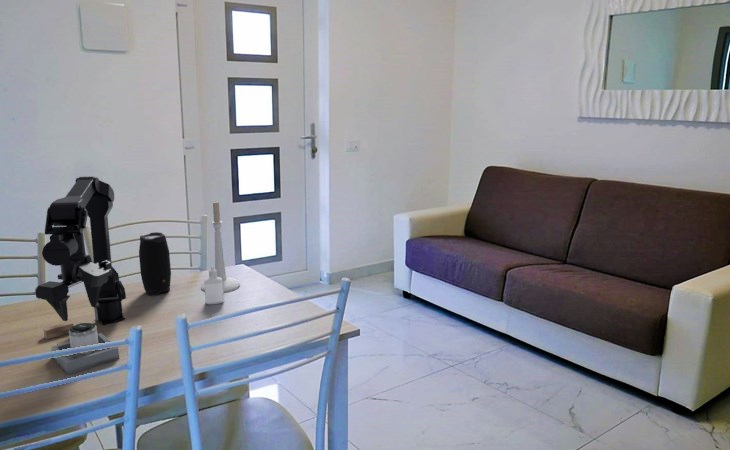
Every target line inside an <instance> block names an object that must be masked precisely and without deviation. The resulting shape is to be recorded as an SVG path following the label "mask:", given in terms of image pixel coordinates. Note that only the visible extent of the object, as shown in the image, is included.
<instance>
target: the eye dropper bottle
mask: <svg viewBox="0 0 730 450" xmlns="http://www.w3.org/2000/svg"><path fill="white" fill-rule="evenodd" d="M203 284H204V285H205V291H204V296H205V304H206V305H217V304H223V303H224V301H225V297H224V293H223V281H222V278H220V277H217V270H215V265H212V266H210V270H208V277H207V278H204V282H203Z"/></svg>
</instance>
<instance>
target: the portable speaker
mask: <svg viewBox="0 0 730 450" xmlns="http://www.w3.org/2000/svg"><path fill="white" fill-rule="evenodd" d="M138 247H139V248H138V257H139V267H140V268H139V270H140V276H141V281H142V285H143V288H144V291H145V293H146V295H148V296H158V295H159V294H160V293H163V292H166V293H168V292H171V279H172V271H171V269H172V268H171V258H170V257H171V255H170V250H169V246H168V241H167V238H166V235H165V234H163V232H157V231H154V232H150V233H148V234H144V235H140V236H139V246H138Z"/></svg>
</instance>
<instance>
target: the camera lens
mask: <svg viewBox="0 0 730 450" xmlns="http://www.w3.org/2000/svg"><path fill="white" fill-rule="evenodd" d="M97 334H98V327H97V325H96V324H94V323H91V322H80V323H78V324H76V325H74V326H73V327H71V328H70V330H69V333H68V336H69V338H68V339H70V346H71V348H75V347H80V346H87V345H93V344H98V335H97ZM96 352H98V350H95V351H88V352H83V353H77V354H73V358H74V359H76V358H80V357H83V356H86V355H90V354H93V353H96Z"/></svg>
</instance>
